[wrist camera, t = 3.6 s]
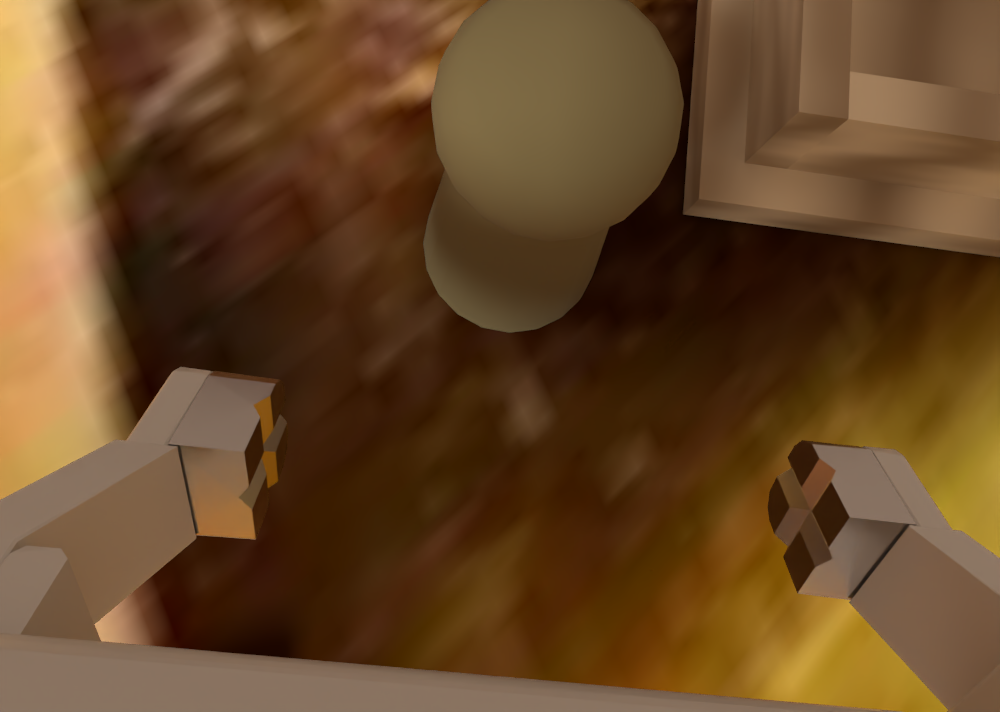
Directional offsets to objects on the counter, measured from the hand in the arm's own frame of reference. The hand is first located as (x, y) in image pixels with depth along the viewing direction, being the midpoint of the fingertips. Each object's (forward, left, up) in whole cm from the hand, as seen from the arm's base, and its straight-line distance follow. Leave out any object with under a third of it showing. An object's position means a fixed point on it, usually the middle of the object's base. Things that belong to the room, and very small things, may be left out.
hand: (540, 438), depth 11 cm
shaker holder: (+13, +16, -12) cm, 24 cm away
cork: (0, +7, -12) cm, 14 cm away
